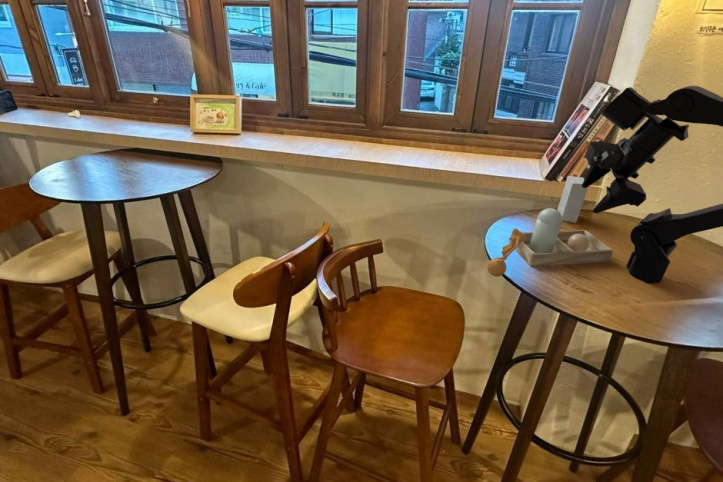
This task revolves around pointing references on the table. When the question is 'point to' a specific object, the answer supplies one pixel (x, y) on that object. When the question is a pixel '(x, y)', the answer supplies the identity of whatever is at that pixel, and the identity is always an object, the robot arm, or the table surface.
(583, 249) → the brown egg
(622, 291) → the table surface
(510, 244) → the figurine
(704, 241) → the table surface
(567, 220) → the skincare box
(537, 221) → the pale blue pillar
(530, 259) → the caddy
